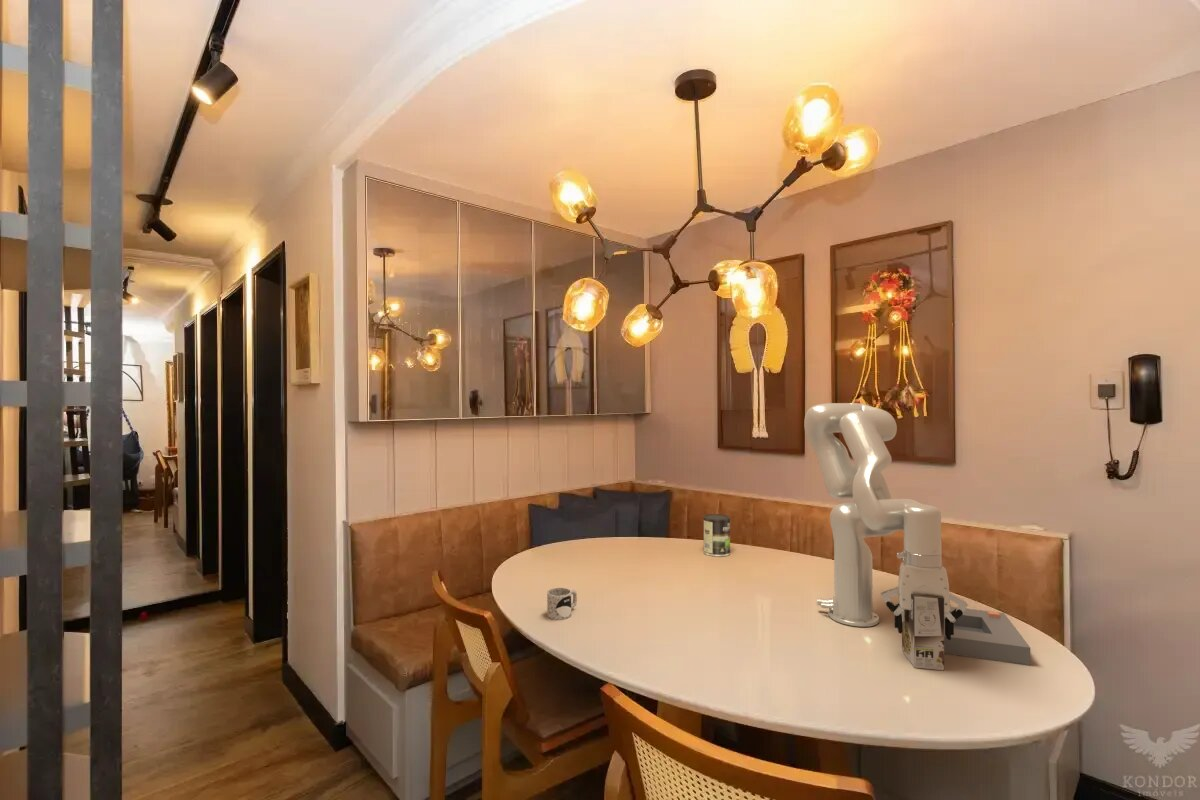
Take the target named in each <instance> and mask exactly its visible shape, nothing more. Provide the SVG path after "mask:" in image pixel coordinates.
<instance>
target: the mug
mask: <svg viewBox="0 0 1200 800" xmlns="http://www.w3.org/2000/svg"><path fill="white" fill-rule="evenodd" d="M546 593H547V594H546V596H547V597H546V599H547V600H546V601H547V603H546V605H547V606H546V607H547V613H546V614H547V615H546V616H547V618H548V619H550V620H551V621H552V620H553V621H564V620H568V619H570V618H571V617H572V609H573V608H575V607H576V606H577V603H578V595H577V594H578V593H577V591H576V590H575V589H572V590H571V589H569V588H565V587H556V588H554V587H553V588H550V589H548V590H547V592H546Z"/></svg>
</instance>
